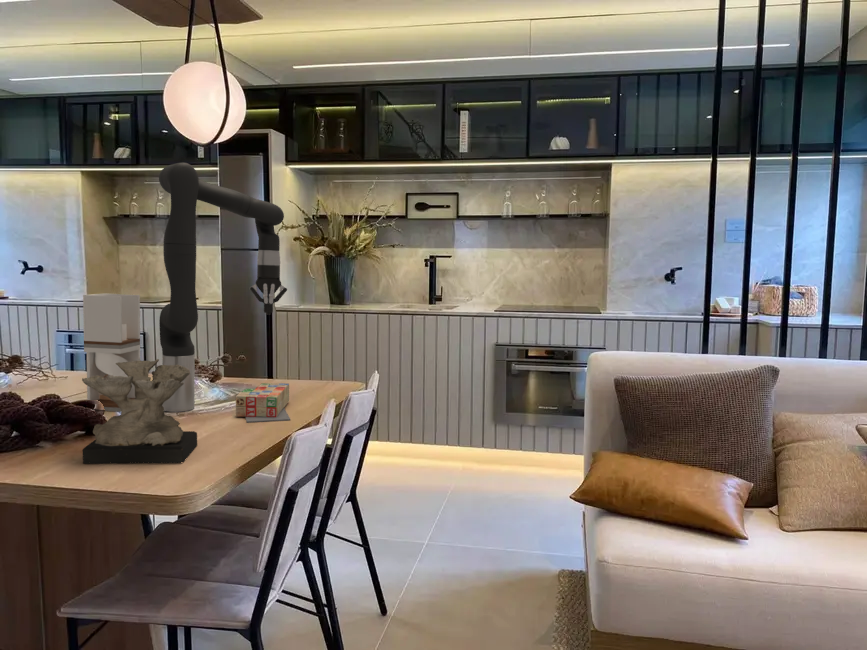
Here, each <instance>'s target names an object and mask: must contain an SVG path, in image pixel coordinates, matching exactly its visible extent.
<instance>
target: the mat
mask: <svg viewBox="0 0 867 650" xmlns="http://www.w3.org/2000/svg"><path fill="white" fill-rule="evenodd" d="M244 417H245V421H246V423H248V424H249V423H250V424H251V423H267V422H285V421H291V417H290V416H289V413H288V412H287V410H286V409H285V407H284V408H283V409H282V410H281V412H280V413H279V414H278V416H277V417H246V416H244Z"/></svg>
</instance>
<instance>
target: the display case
mask: <svg viewBox="0 0 867 650" xmlns="http://www.w3.org/2000/svg"><path fill="white" fill-rule="evenodd" d="M82 298H83V299H82V303H83V304H82V307H83V308H82V310H83V314H82V315H83V318H82V319H83V353H86V378H89V377H92V376H95V375H96V376H99V377H100V376H102V377H103V378H104V379H105V380H107V381H108V380H109V378H108V376H111V375H113V376H122V377H123V376H124V377H128V376H127V375H126V374H125V372H124V371H122V370H121V369H120V368H119V366H118V365H116V363H118V362H121V363H122V362H131V361H138V360H141V310H140V309H141V302H140V301H141V299H140V298H141V295H140V294H126V293H125V294H121V293H120V294H119V293H93V294H83V295H82ZM86 395H87V396H86V397H87V398H86V399H87V400H98V401H100V402H101V403H102V404H103V406H104V409H105V411H104V412H121V409H120V408H119V407H118V405H117V404H116V403H115V402H114V401H113V400H111V399H110V398H108V397H106V396H104V395H102V394H101V393H99V392H97V391H96V390H94V389H93V388H91V387H89V386H87V385H86ZM127 397H128V398H130V399H135V386H134V385H133V384H132V388H131V390H130V392H129V394H128V395H127ZM87 400H86V401H87Z"/></svg>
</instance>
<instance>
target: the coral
mask: <svg viewBox="0 0 867 650" xmlns="http://www.w3.org/2000/svg"><path fill="white" fill-rule="evenodd" d="M159 361H160V359H158V358H156V359H155V360H153V361H150V360H141V359H140V360H138V361H131V362H122V363H121V362H118V363H116V365H118V366H119V368H120V369H121V370H122V371H124V372H125V374H126V375H127V376H128V377H124V376H123V377H122V376H113V375H111V376H108V378H109V380H108V381H107V380H105V379H104V378H103V377H102V376H100V377H99V376H96V375H95V376H92V377H89V378H87V377H85V378H84V377H82V379H81V381H82V383H83V384H85V385H86V387H87V386H89V387H91V388H93V389H94V390H96V391H97V392H99V393H101V394H102V395H104V396H106V397H108V398H110V399H111V400H113V401H114V402H115V403H116V404H117V405H118V407H119V408H120V409H121V413H120V415H113V416H111V417H110V418H109V419H108V420H107V421H106V422H104V423H103V424H101V423H98V424H97V423H96V424H95V425H94V428H92V429H93V430H92V434H93V435H94V436H95V440H93V441H91V442H90V443H88V444H87V445H86V446H84V447H83V448H82V450H81V451H82V464H87V465H93V464H94V465H99V464H100V465H102V464H103V465H104V464H105V465H110V464H111V465H112V464H113V465H115V464H116V465H119V464H120V465H121V464H126V465H127V464H129V465H130V464H131V465H132V464H135V465H136V464H141V465H142V464H182V463H181V462H183V463H185V461H186V460H187V459H186V458H189V456H190V455H191V454H192V453H193V452H194V450H195V449H196V448H197V447H198V432H196V431H193V430H191V431H186V430H185V431H184V430H183V429H182V427H181V426H179V425H180V424H181V422H180V421H178V420H176V419H175V418H174V417H173V416H171V415H166V414H165V411H164V407H163V406H162V405H163V403H164V402H165V401H166V400H168V399H169V398H170V397H171V396H172V395H173V394H174V393H175V392H176V390H178V388H180V387H181V386H182V385H183V384H184V382H182V381H183V380H184V379H185V378H186V377H187V376H188V375H189V374H190V372H189V371H190V370H189V369H187V368H185V367H183V366H180V365H173V366H172V365H169V366H168V365H162V364H160V365H157V364H158V362H159ZM156 365H157V366H156ZM155 366H156V369H154V370H153V371H152V372H151V375H152V376H149V372H150V370H152V368H154V367H155ZM151 378H152V379H151ZM181 382H182V383H181ZM132 384H133V385H134V386H135V399H130V398H128V397H127V395H128V394H129V392H130V390H131V388H132ZM185 459H186V460H185Z"/></svg>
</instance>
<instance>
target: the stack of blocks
mask: <svg viewBox="0 0 867 650" xmlns="http://www.w3.org/2000/svg"><path fill="white" fill-rule="evenodd" d="M289 401H290V383H282V382H281V383H279V382H277V383H275V382H273V383H271V382H270V383H268V382H267V383H266V382H265V383H263V382H262V383H261V384H259V385H258V386H257V387H256V388H244V389H243V390H242V391H240V392H239V393H238V394H237V395H236V396H235V417H245V416H246V417H277V416H278V414H279V413H280V412H281V410H282V409H283V408H285V407H286V406H287V405H288V403H289Z"/></svg>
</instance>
